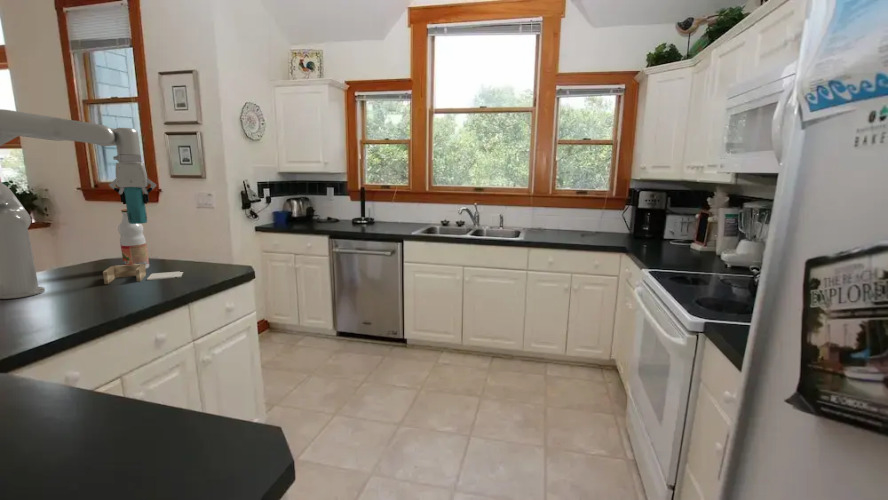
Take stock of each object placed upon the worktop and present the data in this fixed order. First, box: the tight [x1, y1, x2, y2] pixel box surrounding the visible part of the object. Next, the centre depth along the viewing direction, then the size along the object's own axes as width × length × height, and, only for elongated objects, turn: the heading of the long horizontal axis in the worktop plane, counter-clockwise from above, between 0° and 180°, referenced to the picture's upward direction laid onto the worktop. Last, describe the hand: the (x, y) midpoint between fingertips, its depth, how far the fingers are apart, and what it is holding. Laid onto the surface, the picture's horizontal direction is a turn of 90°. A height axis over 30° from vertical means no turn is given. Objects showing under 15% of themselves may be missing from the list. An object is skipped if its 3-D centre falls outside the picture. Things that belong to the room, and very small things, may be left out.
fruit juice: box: [118, 208, 150, 269], centre depth 184 cm, size 9×9×28 cm
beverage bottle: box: [124, 182, 148, 224], centre depth 167 cm, size 6×7×20 cm
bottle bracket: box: [102, 264, 147, 285], centre depth 169 cm, size 12×12×5 cm
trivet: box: [146, 271, 184, 281], centre depth 176 cm, size 12×10×1 cm
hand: (135, 203), depth 167 cm, fingers closed on beverage bottle, 6 cm apart
